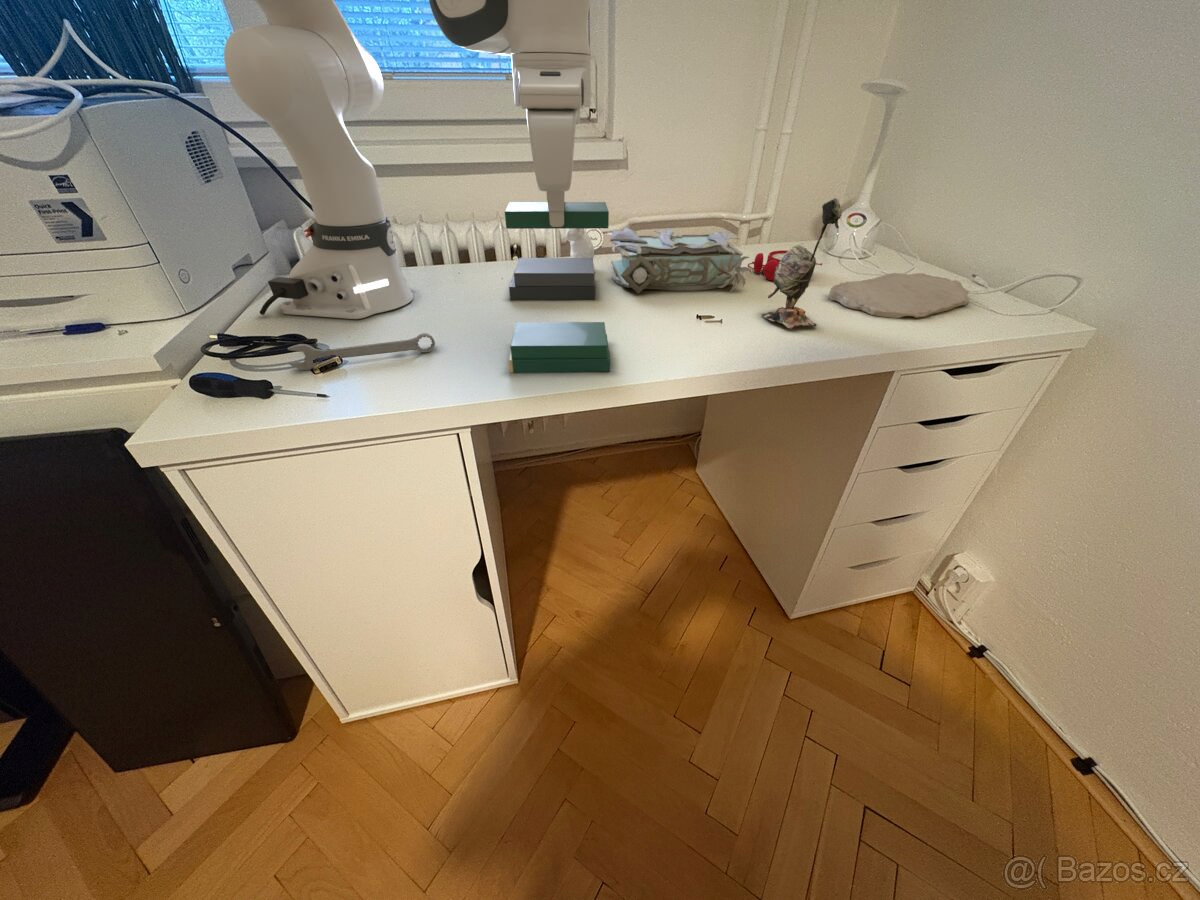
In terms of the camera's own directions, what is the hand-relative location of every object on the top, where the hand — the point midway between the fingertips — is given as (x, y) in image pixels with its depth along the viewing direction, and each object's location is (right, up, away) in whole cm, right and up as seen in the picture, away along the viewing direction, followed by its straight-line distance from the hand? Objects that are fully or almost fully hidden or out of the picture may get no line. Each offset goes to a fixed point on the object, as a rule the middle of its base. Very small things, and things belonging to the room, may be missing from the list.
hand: (557, 219), depth 63 cm
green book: (0, 0, 0) cm, 1 cm away
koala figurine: (+1, +11, +47) cm, 48 cm away
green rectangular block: (0, -17, +9) cm, 19 cm away
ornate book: (+22, +7, +43) cm, 48 cm away
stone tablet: (+67, -1, +33) cm, 74 cm away
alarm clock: (+46, +9, +45) cm, 65 cm away
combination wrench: (-29, -17, +8) cm, 35 cm away
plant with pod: (+39, -7, +23) cm, 46 cm away
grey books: (-4, +2, +34) cm, 34 cm away
